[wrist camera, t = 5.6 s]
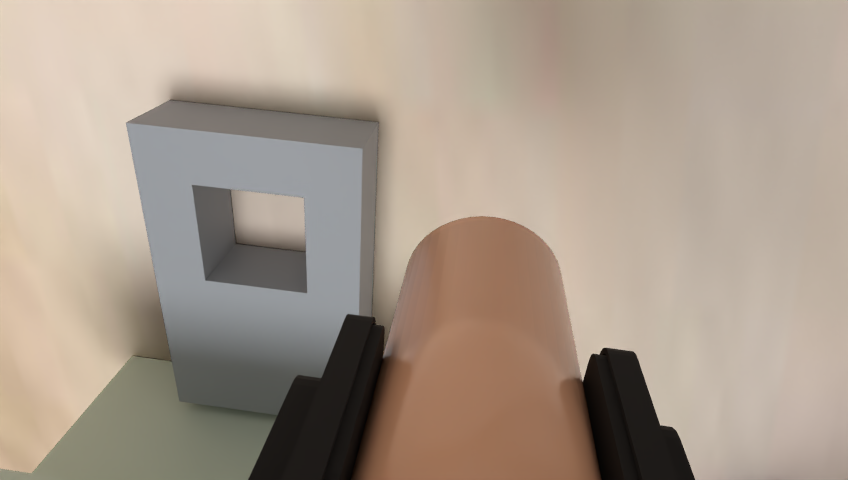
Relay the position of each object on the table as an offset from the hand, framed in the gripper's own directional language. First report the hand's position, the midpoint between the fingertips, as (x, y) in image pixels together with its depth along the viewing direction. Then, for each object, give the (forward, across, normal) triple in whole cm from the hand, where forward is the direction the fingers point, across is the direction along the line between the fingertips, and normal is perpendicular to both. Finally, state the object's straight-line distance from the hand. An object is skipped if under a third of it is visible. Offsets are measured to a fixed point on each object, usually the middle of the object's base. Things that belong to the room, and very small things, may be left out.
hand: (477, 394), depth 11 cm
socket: (+19, +11, +10) cm, 24 cm away
